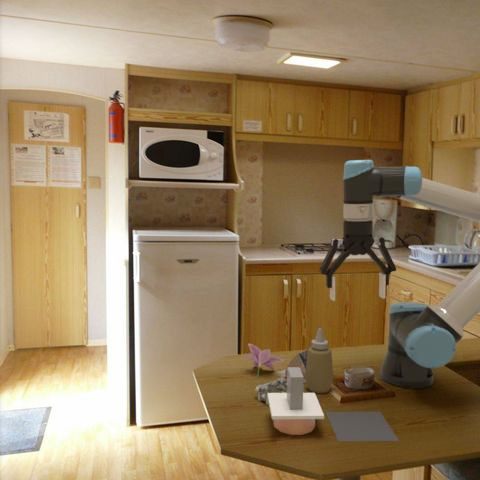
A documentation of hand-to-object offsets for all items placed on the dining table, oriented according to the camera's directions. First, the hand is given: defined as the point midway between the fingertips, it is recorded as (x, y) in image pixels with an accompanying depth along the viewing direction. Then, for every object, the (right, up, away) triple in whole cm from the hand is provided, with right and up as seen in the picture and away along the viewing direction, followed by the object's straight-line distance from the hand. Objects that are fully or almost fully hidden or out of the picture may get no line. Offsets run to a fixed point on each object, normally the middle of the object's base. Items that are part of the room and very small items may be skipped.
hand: (357, 298), depth 134 cm
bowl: (-18, -30, -13) cm, 37 cm away
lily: (-25, -25, +19) cm, 40 cm away
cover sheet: (-18, -25, -13) cm, 33 cm away
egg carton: (-22, -28, +3) cm, 35 cm away
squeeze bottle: (-9, -27, +7) cm, 29 cm away
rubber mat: (-2, -30, -13) cm, 33 cm away
